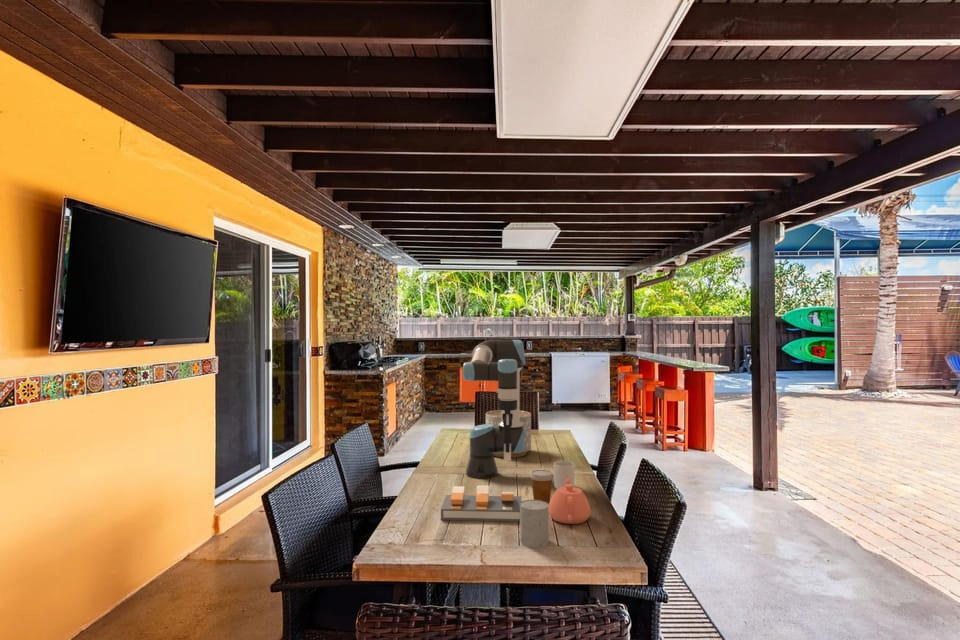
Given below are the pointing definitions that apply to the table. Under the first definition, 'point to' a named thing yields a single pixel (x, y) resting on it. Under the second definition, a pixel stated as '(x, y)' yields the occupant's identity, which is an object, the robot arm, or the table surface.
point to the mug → (563, 473)
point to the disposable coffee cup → (541, 484)
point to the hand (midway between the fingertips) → (507, 459)
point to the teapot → (569, 505)
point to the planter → (524, 418)
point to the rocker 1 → (457, 495)
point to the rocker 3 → (507, 496)
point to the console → (482, 509)
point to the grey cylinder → (534, 523)
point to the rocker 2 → (482, 495)
